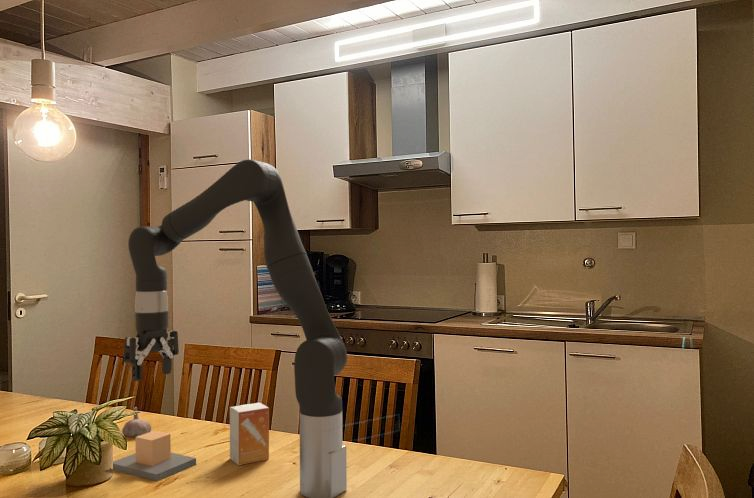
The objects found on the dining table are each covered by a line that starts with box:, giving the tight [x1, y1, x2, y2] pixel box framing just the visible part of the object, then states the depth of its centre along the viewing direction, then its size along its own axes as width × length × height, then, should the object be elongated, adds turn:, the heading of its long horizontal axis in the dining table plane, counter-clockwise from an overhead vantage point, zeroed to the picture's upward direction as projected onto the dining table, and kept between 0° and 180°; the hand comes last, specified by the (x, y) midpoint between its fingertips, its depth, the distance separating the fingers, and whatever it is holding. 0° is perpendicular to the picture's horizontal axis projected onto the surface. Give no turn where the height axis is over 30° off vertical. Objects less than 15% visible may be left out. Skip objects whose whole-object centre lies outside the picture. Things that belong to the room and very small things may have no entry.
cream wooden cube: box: [134, 430, 172, 466], centre depth 147 cm, size 6×6×6 cm
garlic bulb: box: [121, 406, 152, 437], centre depth 172 cm, size 8×7×8 cm
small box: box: [229, 401, 270, 466], centre depth 152 cm, size 8×6×13 cm
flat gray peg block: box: [112, 452, 197, 482], centre depth 147 cm, size 16×12×6 cm
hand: (152, 377), depth 147 cm, fingers open, 8 cm apart
